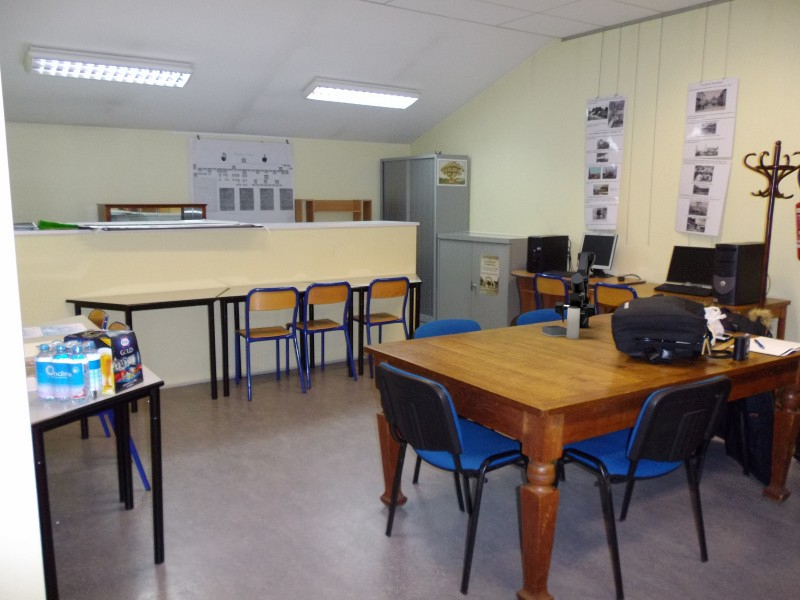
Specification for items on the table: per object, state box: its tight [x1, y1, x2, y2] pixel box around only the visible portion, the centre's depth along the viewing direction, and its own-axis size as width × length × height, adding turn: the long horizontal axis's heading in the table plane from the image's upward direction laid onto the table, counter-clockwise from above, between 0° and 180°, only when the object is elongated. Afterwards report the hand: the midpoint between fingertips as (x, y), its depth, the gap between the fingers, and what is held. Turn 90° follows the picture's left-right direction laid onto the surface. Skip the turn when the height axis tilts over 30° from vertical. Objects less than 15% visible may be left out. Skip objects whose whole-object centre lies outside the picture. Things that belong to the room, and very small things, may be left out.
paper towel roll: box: [565, 307, 580, 340], centre depth 309 cm, size 6×6×14 cm
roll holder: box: [540, 324, 567, 338], centre depth 317 cm, size 9×9×4 cm
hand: (572, 323), depth 307 cm, fingers open, 9 cm apart
